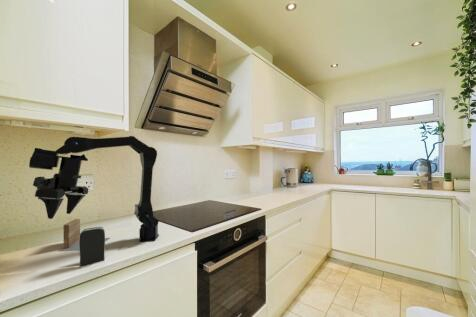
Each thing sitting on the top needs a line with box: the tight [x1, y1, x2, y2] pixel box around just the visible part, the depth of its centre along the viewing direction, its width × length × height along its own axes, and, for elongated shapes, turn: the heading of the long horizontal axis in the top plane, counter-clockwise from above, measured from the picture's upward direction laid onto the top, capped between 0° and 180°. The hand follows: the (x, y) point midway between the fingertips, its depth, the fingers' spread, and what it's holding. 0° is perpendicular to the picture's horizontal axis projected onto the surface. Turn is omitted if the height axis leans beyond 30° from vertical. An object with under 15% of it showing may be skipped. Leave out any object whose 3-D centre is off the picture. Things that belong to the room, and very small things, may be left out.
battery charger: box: [79, 226, 106, 267], centre depth 69 cm, size 7×4×11 cm, turn 124°
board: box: [63, 218, 81, 249], centre depth 83 cm, size 2×8×9 cm, turn 12°
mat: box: [57, 237, 111, 252], centre depth 83 cm, size 13×12×1 cm
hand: (59, 216), depth 72 cm, fingers open, 9 cm apart
